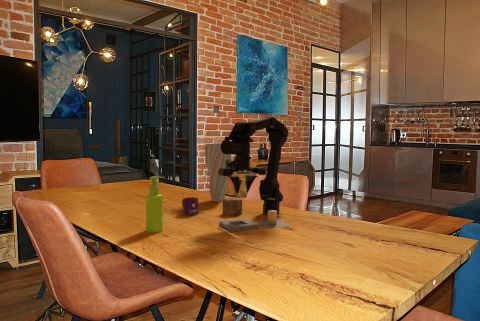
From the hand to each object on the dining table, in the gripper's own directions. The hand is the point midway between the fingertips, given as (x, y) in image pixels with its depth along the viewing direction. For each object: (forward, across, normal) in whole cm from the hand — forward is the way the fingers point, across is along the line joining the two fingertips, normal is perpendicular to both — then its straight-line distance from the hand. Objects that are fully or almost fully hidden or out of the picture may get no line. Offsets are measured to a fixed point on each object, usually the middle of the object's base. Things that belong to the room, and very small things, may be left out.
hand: (241, 193), depth 153 cm
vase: (+12, -10, -50) cm, 52 cm away
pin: (+2, 0, 0) cm, 2 cm away
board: (+12, -10, +8) cm, 17 cm away
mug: (+12, +13, -27) cm, 32 cm away
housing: (+12, -3, -16) cm, 20 cm away
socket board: (+12, +4, +7) cm, 15 cm away
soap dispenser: (+13, +34, -3) cm, 36 cm away
